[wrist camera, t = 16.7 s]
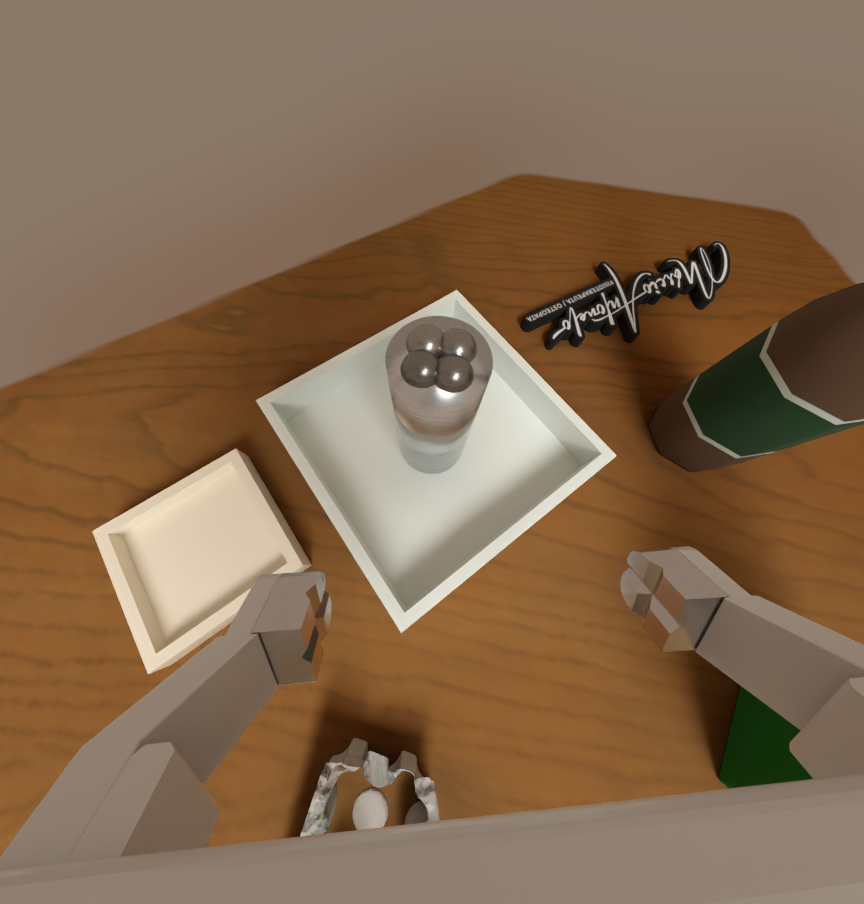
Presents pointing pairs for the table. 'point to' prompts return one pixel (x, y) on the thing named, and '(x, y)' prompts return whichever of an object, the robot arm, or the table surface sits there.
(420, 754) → the table surface
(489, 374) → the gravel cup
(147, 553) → the tray
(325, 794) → the egg carton
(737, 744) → the milk carton
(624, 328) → the nameplate
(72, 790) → the robot arm
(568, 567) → the table surface
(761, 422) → the beer bottle
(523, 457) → the bin
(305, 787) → the table surface
